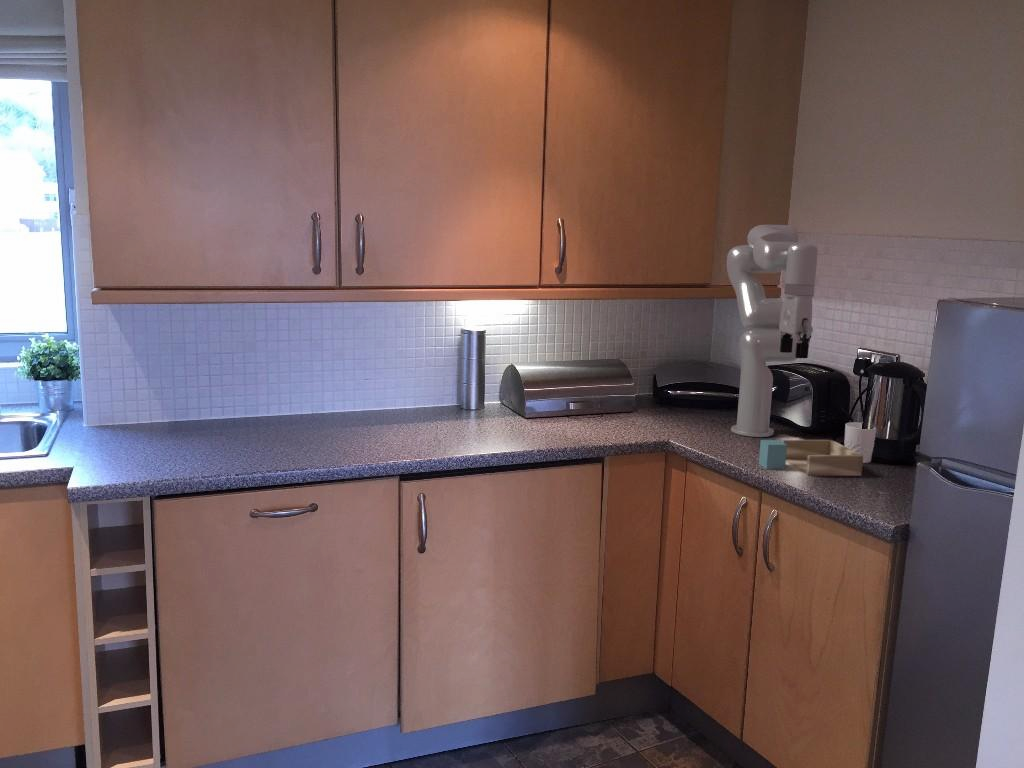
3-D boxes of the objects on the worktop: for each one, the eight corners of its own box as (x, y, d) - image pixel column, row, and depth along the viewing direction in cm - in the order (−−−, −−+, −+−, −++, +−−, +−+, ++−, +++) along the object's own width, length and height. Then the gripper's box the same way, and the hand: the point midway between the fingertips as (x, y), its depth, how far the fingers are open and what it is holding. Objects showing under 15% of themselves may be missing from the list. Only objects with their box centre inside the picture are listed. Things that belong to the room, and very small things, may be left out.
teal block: (758, 465, 231) (760, 439, 229) (776, 465, 231) (779, 439, 230) (766, 471, 226) (768, 444, 224) (784, 471, 226) (787, 444, 225)
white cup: (865, 457, 242) (869, 422, 240) (877, 465, 234) (881, 429, 232) (837, 457, 242) (840, 421, 240) (848, 465, 234) (852, 428, 232)
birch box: (780, 459, 237) (782, 439, 236) (830, 459, 239) (832, 439, 238) (807, 477, 221) (809, 456, 220) (861, 477, 223) (863, 456, 222)
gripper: (772, 288, 239) (767, 350, 242) (799, 293, 222) (793, 360, 225) (798, 288, 240) (793, 350, 243) (827, 294, 223) (821, 360, 226)
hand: (793, 355), depth 234 cm, fingers open, 9 cm apart
